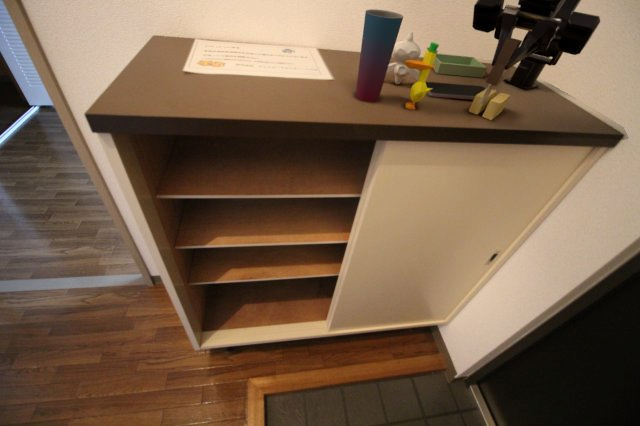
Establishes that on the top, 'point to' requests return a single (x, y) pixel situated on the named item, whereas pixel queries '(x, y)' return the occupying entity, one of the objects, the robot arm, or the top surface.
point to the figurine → (404, 58)
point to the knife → (501, 65)
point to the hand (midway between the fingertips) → (499, 66)
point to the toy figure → (421, 74)
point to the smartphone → (454, 90)
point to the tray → (458, 65)
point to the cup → (376, 51)
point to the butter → (489, 104)
